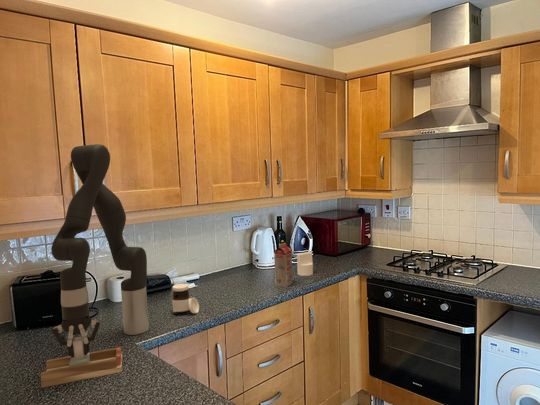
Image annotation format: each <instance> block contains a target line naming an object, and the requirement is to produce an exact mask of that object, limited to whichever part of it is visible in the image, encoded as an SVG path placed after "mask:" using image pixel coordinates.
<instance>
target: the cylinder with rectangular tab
mask: <svg viewBox="0 0 540 405" xmlns="http://www.w3.org/2000/svg"><path fill="white" fill-rule="evenodd" d="M296 256H297V257H296V260H297V263H296V268H297V271H296V272H297V275H298V276H301V277H302V276H303V277H308V276H312V275H314V263H313V252H310V251H307V252H300V253H297V255H296Z"/></svg>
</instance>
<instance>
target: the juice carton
mask: <svg viewBox="0 0 540 405" xmlns="http://www.w3.org/2000/svg"><path fill="white" fill-rule="evenodd" d="M292 252H293V250H292V248H291V247H289V246H287V242H283V243H281V244H278V248H276V249H275V250H274V251H273V253H274V254H273V255H274V256H273V257H274V277H275V278H274V279H275V281H274V283H275V284H274V286H279V287H284V288H287V287H289V286H291V285H293V284H294V283H293V254H292Z"/></svg>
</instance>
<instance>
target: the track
mask: <svg viewBox="0 0 540 405" xmlns="http://www.w3.org/2000/svg"><path fill="white" fill-rule="evenodd" d="M89 355H90V363H87V364H82V365H76V366H71V367H70V365H69V363H70V360H71V356H69V355H67V356H62V357H58V358H57V357H56V358H52V359H46V361H45V364H46V365H45V366H46V370H44V371H41V372H40V378H41V380H40V381H41V382H40V383H41V388H47V387H53V386H58V385H63V384H68V383H73V382H77V381H83V380H88V379H93V378H99V377H102V376H103V377H104V376H108V375H115V374H118V373H122V372H123V353H122V350H121V346H119V347H113V348H106V349H103V350H97V351H89Z"/></svg>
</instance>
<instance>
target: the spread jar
mask: <svg viewBox="0 0 540 405" xmlns="http://www.w3.org/2000/svg"><path fill="white" fill-rule="evenodd" d="M190 293H191V292H190V290H189V284H187V283H177V284H175V285H173V286H172V292H171V302H172V312H173V314H174V315H178V316H179V315H186V314H188V313H190V312H191V314H198V313H199V312H200V304H199V300H197V298H196V297H191V295H190Z"/></svg>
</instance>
